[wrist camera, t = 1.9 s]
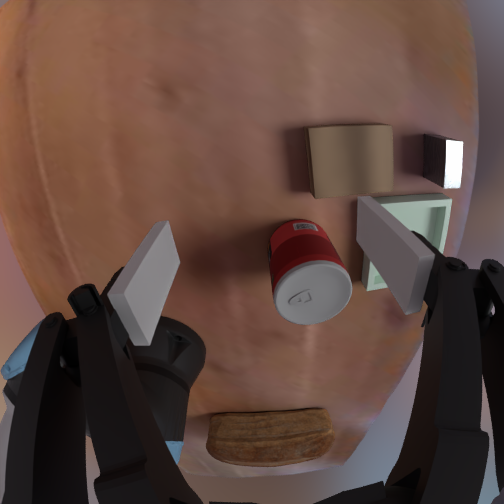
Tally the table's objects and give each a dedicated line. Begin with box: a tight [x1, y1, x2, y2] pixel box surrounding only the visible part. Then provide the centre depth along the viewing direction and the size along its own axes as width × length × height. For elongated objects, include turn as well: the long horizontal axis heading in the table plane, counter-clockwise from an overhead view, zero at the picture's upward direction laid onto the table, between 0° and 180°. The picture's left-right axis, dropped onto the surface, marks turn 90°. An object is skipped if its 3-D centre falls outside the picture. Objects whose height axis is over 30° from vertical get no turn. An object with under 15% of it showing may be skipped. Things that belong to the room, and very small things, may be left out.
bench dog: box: [423, 134, 463, 188], centre depth 27 cm, size 3×6×5 cm, turn 7°
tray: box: [361, 193, 452, 291], centre depth 34 cm, size 13×13×2 cm
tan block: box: [304, 124, 393, 199], centre depth 29 cm, size 10×8×3 cm
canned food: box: [268, 219, 352, 325], centre depth 31 cm, size 8×8×11 cm
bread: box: [206, 408, 335, 467], centre depth 54 cm, size 12×31×14 cm, turn 93°
